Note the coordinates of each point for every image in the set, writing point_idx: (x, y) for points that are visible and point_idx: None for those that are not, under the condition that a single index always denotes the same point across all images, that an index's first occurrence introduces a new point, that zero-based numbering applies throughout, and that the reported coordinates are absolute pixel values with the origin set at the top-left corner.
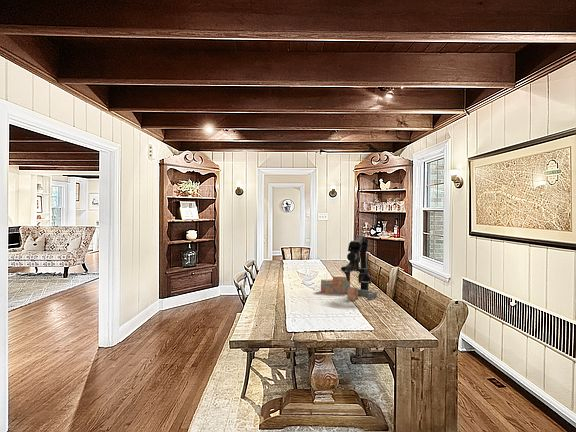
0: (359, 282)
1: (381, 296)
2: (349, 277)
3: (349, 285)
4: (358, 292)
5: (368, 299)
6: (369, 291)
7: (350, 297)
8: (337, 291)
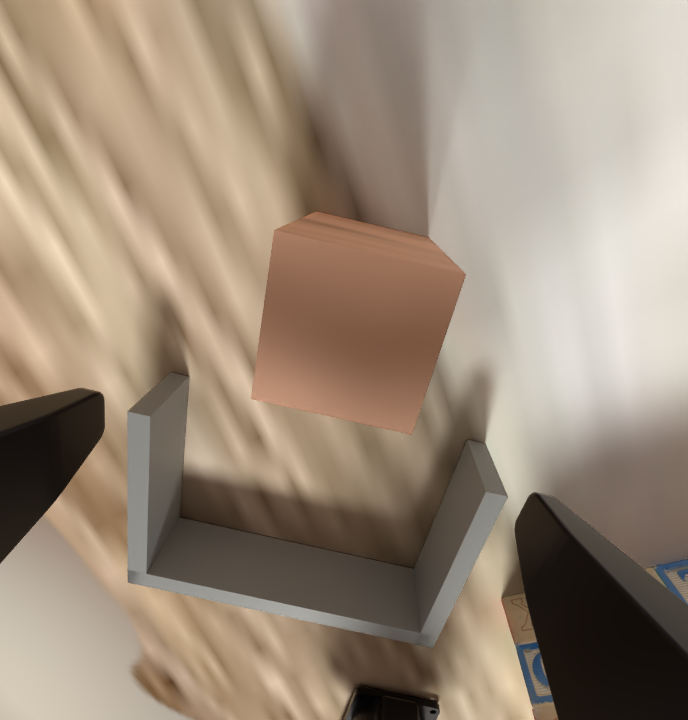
0: (82, 393)
1: (156, 593)
2: (561, 678)
3: (540, 704)
4: (386, 589)
5: (172, 375)
6: (225, 586)
7: (377, 230)
8: (665, 583)
